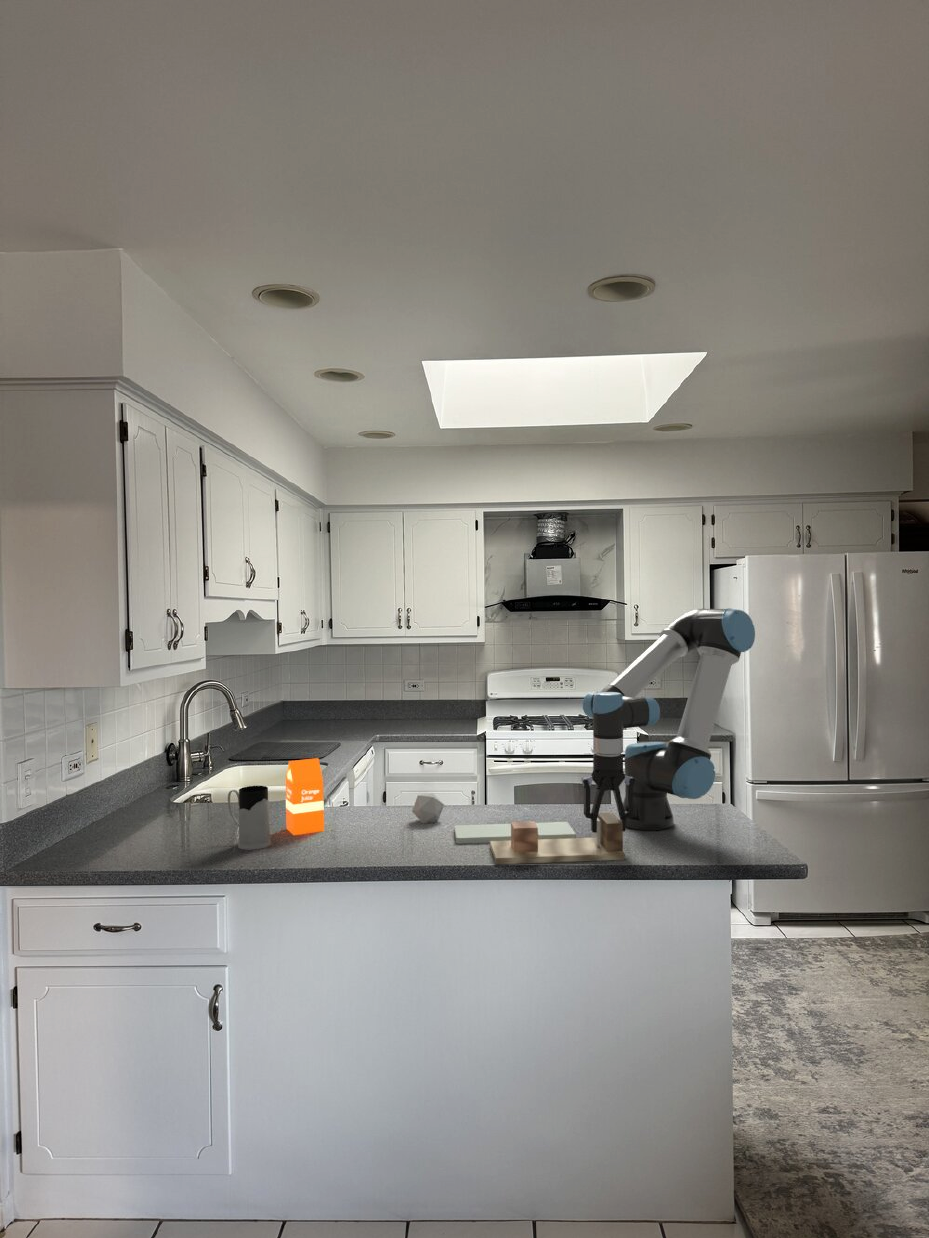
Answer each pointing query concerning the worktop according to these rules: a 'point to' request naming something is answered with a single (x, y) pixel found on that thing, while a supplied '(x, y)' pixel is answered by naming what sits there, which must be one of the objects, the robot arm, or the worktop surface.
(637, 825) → the robot arm
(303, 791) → the orange juice
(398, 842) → the worktop surface
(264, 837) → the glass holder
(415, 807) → the grey block
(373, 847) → the worktop surface
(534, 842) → the cube
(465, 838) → the broken strip
